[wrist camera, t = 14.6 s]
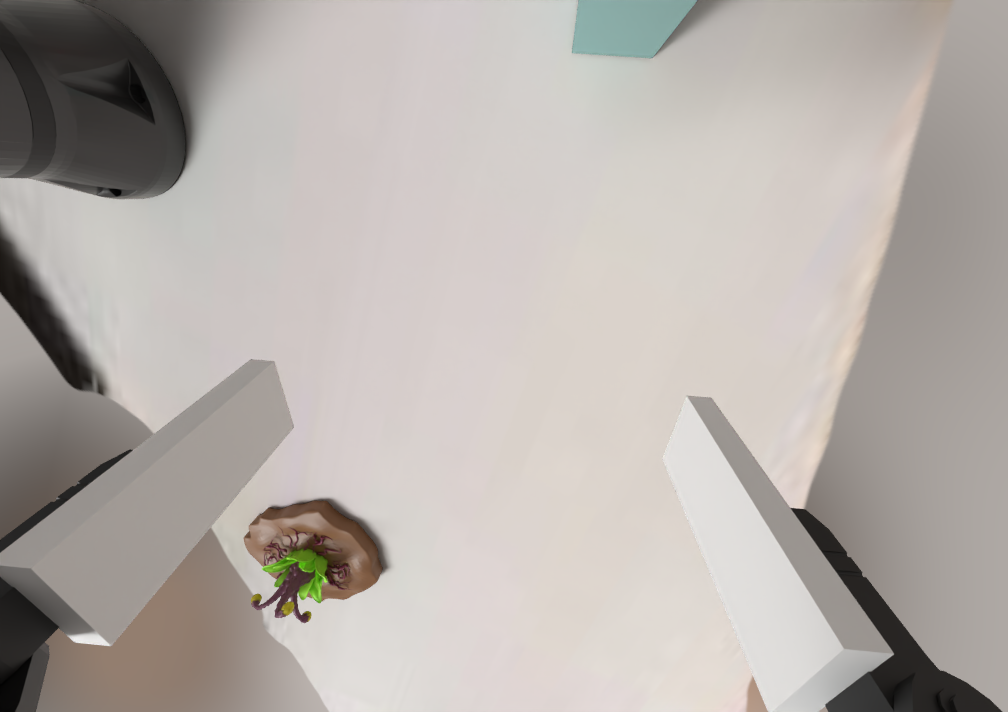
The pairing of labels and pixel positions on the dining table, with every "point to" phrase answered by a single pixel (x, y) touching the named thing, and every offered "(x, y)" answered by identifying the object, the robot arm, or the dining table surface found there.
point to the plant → (311, 555)
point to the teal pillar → (626, 26)
